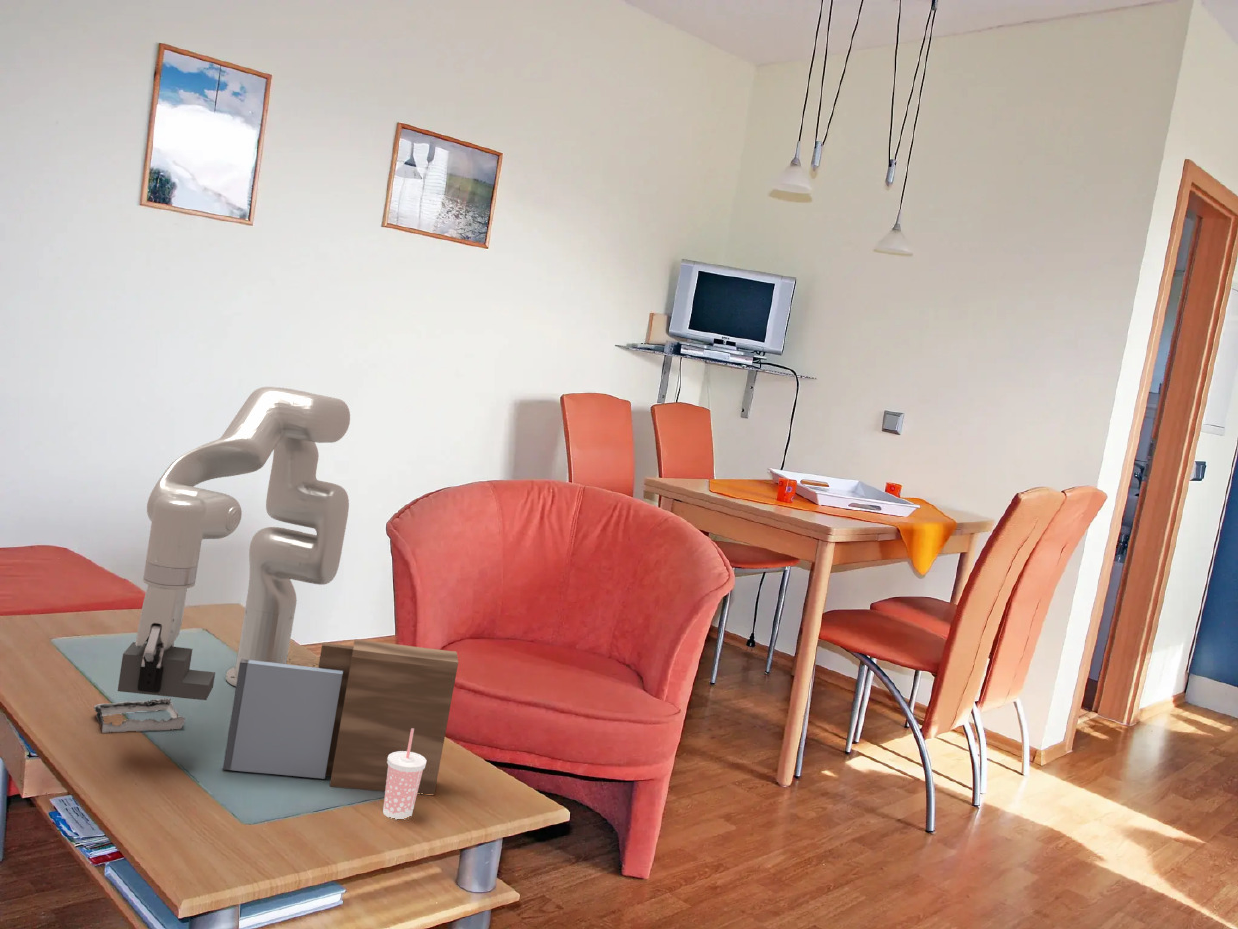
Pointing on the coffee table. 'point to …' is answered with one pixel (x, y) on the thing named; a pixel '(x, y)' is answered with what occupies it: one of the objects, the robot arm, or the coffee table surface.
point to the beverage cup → (402, 782)
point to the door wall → (387, 710)
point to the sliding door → (282, 719)
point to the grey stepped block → (167, 674)
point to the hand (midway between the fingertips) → (153, 682)
